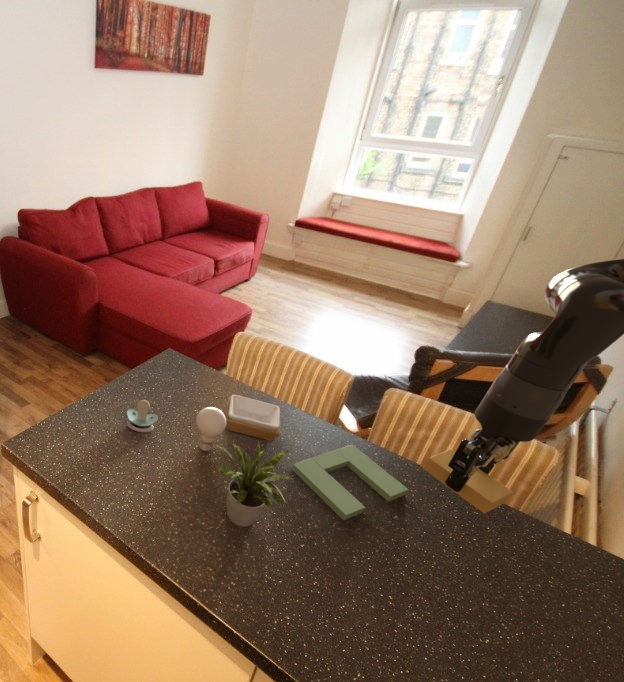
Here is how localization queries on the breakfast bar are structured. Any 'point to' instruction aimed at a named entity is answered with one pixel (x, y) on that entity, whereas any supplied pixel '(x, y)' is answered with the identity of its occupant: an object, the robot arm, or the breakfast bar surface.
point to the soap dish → (252, 417)
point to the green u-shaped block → (333, 492)
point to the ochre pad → (470, 483)
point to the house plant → (251, 486)
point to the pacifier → (141, 417)
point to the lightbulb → (210, 426)
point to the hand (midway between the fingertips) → (464, 481)
